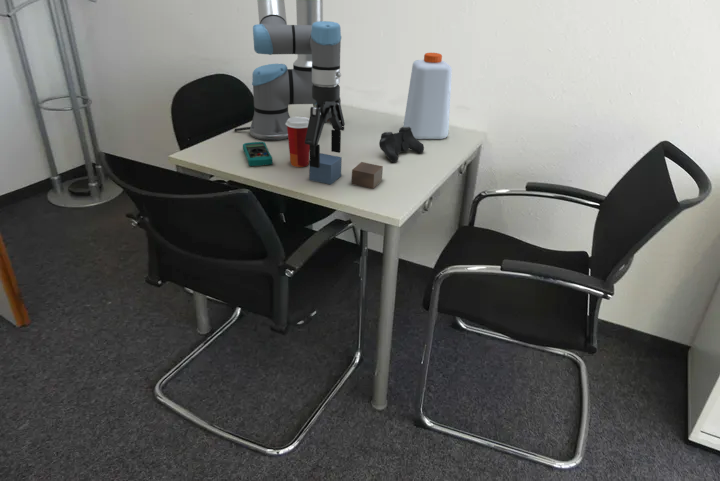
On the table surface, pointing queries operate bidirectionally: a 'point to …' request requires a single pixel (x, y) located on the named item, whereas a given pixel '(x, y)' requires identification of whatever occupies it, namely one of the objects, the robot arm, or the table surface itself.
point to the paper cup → (298, 141)
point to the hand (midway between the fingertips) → (325, 159)
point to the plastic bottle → (429, 98)
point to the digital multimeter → (257, 154)
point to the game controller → (399, 143)
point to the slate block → (326, 169)
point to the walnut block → (367, 175)
